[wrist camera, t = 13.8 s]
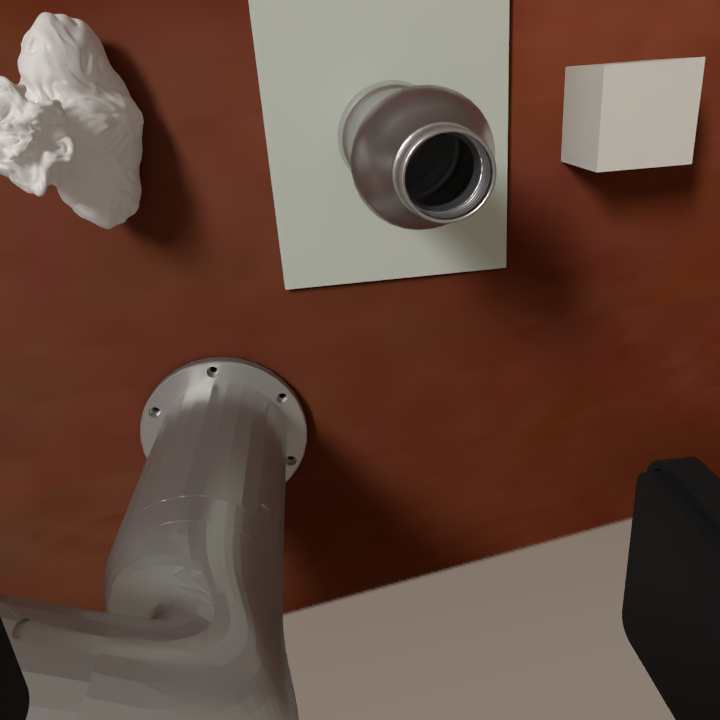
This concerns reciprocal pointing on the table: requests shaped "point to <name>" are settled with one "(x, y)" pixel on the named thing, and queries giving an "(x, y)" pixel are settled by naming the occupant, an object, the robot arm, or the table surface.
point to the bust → (71, 123)
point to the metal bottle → (418, 153)
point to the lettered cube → (631, 114)
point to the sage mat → (323, 114)
